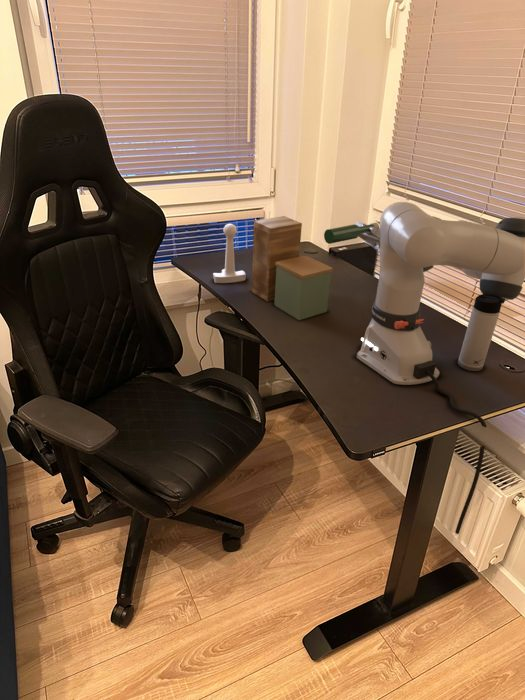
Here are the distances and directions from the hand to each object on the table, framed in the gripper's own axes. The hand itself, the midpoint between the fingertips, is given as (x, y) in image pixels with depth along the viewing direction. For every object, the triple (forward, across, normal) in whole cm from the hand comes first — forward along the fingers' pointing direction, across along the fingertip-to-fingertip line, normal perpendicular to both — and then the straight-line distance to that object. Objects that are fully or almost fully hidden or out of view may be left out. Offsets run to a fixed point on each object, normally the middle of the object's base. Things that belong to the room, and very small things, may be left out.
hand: (366, 227), depth 161 cm
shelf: (+11, +14, -32) cm, 36 cm away
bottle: (+4, 0, -5) cm, 7 cm away
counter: (+11, 0, -32) cm, 34 cm away
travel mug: (-4, -50, -24) cm, 56 cm away
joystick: (+16, +32, -35) cm, 51 cm away
